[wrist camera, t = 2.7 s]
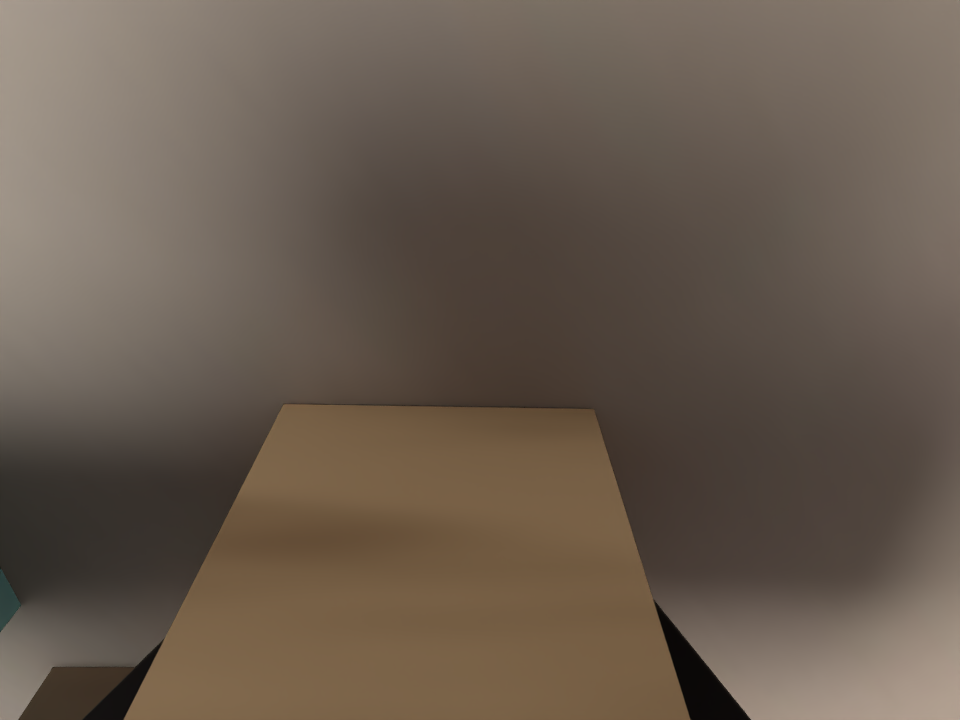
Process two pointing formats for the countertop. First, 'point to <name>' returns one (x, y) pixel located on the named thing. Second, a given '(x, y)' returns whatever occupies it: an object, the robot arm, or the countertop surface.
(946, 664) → the countertop surface
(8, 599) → the teal block
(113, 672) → the walnut board
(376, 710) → the oak block
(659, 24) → the countertop surface
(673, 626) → the robot arm
